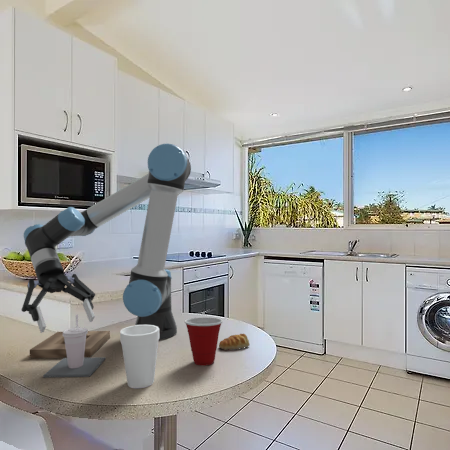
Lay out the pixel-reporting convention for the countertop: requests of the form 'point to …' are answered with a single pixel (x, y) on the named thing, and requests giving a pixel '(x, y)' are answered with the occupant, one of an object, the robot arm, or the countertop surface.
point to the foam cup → (140, 354)
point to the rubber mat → (83, 371)
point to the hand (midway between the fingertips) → (69, 324)
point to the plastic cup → (203, 338)
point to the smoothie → (75, 345)
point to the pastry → (234, 342)
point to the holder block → (57, 349)
